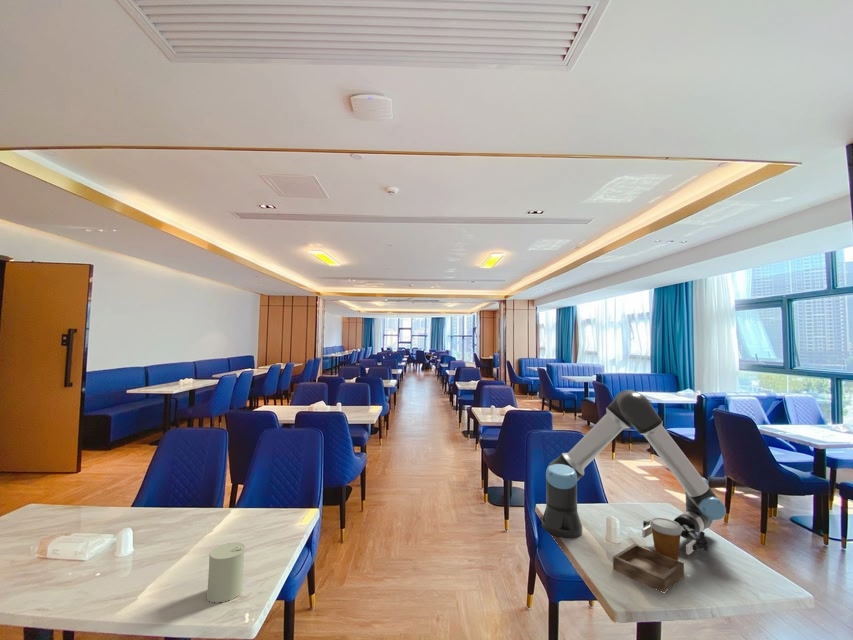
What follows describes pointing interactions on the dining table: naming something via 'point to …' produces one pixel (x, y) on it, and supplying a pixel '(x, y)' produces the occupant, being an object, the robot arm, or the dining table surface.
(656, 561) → the cup tray
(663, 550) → the disposable coffee cup
